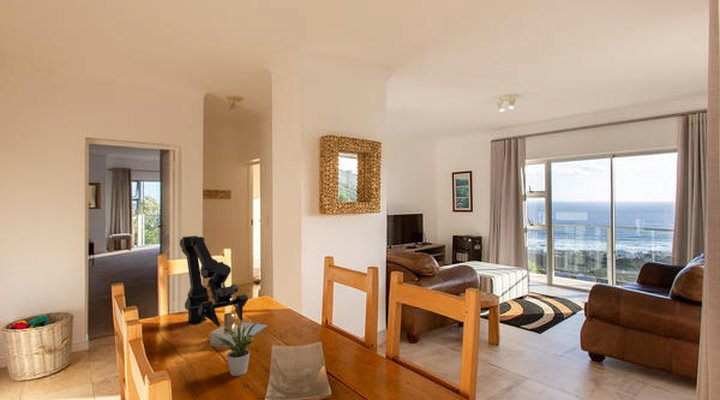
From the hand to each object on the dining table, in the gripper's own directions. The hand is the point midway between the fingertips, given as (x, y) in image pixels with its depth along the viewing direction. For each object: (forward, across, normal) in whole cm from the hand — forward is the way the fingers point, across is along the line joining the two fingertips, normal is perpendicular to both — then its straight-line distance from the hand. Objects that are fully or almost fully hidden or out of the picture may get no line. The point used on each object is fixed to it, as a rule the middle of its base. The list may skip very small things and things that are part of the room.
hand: (230, 323), depth 146 cm
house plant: (+23, -8, -11) cm, 26 cm away
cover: (+5, 0, +6) cm, 8 cm away
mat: (-1, +12, +11) cm, 16 cm away
